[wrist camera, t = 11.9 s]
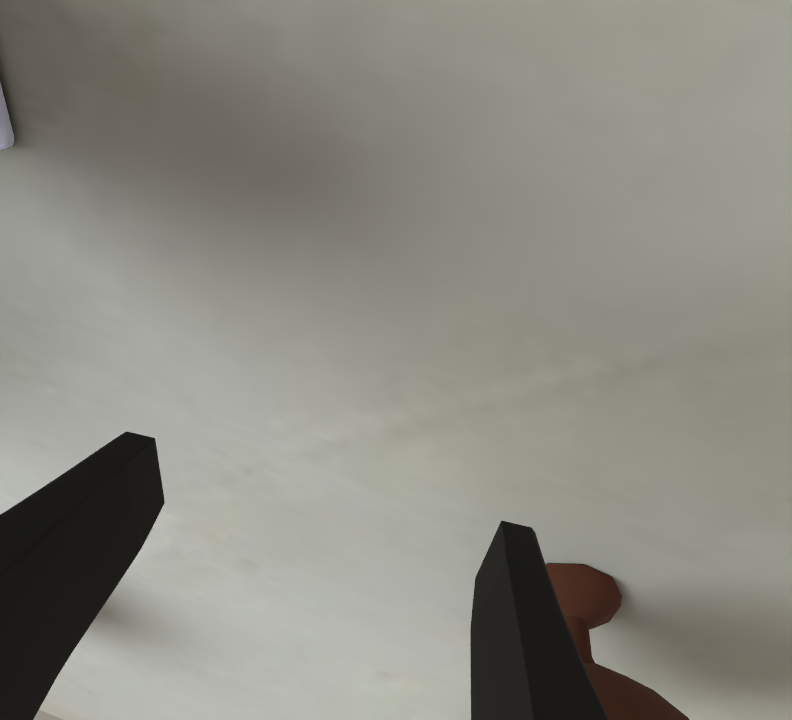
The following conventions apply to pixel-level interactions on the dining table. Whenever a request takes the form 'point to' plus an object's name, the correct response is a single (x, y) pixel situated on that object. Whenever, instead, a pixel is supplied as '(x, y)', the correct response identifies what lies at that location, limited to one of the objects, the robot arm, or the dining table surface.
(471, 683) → the robot arm
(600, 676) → the brown rounded tall piece
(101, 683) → the dining table surface
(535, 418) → the dining table surface
